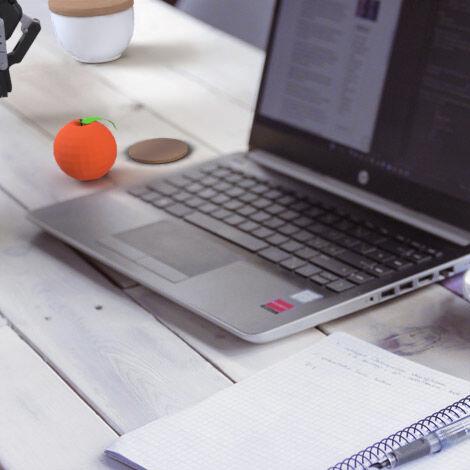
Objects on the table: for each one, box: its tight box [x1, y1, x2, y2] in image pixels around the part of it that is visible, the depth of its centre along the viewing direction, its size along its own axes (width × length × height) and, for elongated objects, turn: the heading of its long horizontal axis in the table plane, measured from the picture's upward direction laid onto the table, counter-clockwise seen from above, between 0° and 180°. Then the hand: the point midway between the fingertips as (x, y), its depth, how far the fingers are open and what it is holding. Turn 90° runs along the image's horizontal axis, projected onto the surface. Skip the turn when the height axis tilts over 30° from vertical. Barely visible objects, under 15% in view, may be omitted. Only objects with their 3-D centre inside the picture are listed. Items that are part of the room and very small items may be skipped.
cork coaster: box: [128, 137, 189, 164], centre depth 115 cm, size 7×7×1 cm
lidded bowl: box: [47, 0, 135, 64], centre depth 146 cm, size 13×13×11 cm
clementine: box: [52, 116, 118, 182], centre depth 107 cm, size 8×7×7 cm
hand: (1, 95), depth 124 cm, fingers closed
